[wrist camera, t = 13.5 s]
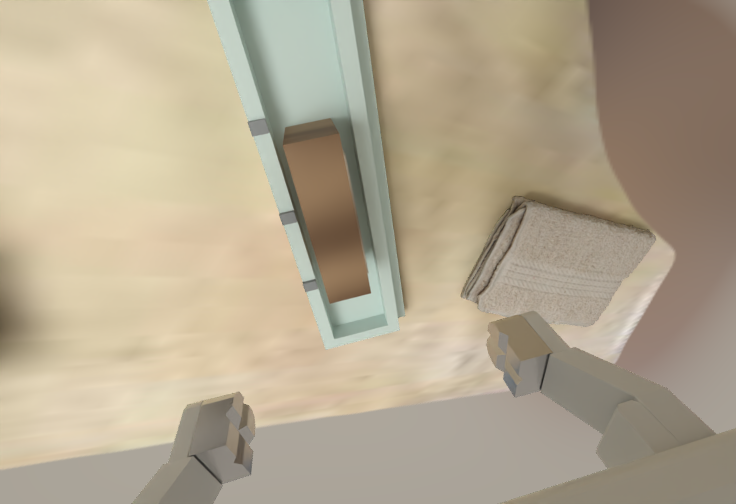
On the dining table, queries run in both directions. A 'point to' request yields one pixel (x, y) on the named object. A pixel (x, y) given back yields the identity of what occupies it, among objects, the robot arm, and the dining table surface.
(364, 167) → the ledge
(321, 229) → the wooden block
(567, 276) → the washcloth
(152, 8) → the dining table surface
